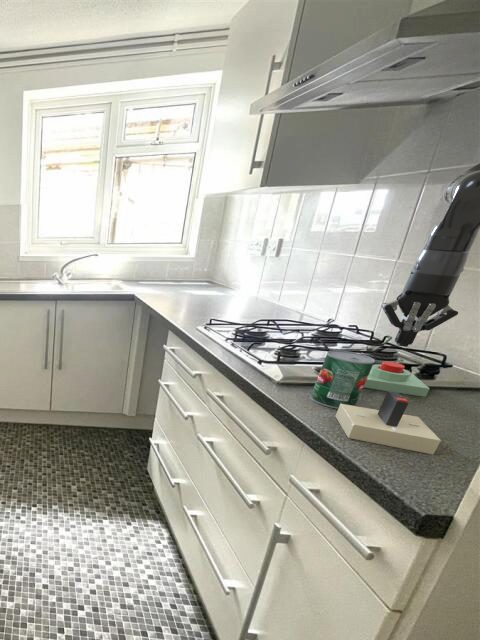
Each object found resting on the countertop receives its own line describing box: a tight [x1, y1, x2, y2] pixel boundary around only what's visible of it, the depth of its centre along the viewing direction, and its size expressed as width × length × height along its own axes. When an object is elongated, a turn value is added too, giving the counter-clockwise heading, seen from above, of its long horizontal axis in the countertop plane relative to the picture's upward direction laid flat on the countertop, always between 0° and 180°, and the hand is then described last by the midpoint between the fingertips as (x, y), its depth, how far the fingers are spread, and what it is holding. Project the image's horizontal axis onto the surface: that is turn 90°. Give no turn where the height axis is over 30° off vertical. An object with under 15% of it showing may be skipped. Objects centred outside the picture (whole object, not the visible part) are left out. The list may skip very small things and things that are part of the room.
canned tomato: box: [309, 349, 376, 410], centre depth 91 cm, size 8×8×11 cm
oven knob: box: [378, 391, 409, 427], centre depth 78 cm, size 5×2×5 cm, turn 152°
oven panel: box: [335, 404, 442, 456], centre depth 80 cm, size 12×10×3 cm
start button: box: [380, 361, 405, 373], centre depth 101 cm, size 4×4×2 cm
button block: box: [363, 363, 430, 398], centre depth 102 cm, size 12×10×4 cm
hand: (401, 345), depth 99 cm, fingers closed
